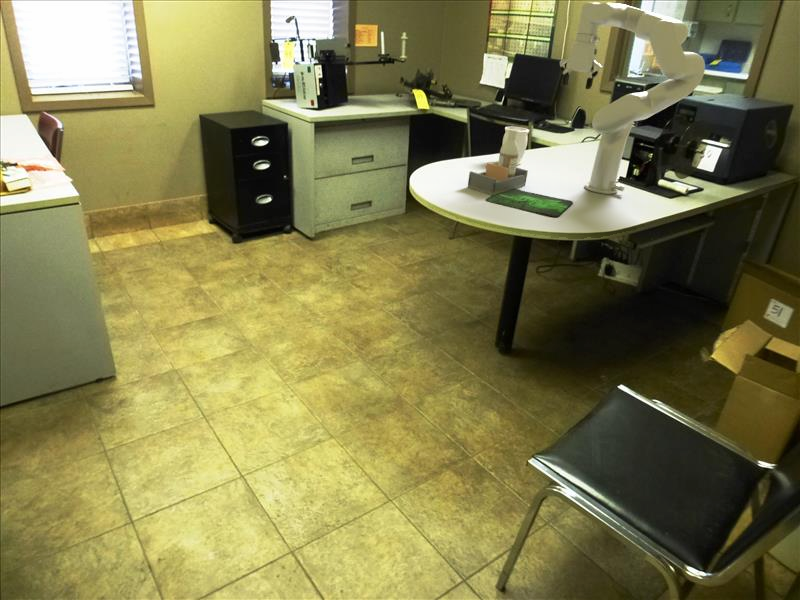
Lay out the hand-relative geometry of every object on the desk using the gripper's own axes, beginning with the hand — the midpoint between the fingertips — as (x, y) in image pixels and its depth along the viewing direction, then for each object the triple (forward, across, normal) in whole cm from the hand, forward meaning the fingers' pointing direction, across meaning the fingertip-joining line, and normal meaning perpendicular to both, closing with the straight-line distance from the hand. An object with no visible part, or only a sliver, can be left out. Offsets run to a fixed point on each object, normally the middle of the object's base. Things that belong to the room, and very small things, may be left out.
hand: (576, 87), depth 223 cm
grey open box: (+36, +8, +36) cm, 51 cm away
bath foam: (+35, +8, +31) cm, 47 cm away
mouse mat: (+36, -10, +42) cm, 56 cm away
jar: (+36, +24, -1) cm, 43 cm away
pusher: (+34, +8, +39) cm, 53 cm away
